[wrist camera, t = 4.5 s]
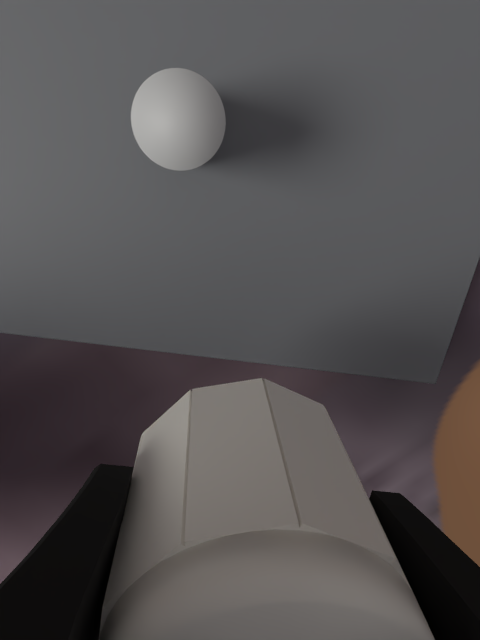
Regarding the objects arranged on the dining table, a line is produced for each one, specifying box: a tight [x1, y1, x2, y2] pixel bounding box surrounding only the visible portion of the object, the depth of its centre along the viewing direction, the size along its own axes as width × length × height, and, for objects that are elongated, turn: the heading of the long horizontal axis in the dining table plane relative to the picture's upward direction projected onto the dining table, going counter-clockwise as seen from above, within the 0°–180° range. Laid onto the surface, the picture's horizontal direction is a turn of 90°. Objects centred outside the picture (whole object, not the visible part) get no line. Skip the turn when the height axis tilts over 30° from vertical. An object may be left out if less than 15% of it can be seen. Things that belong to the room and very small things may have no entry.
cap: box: [99, 378, 435, 640], centre depth 8 cm, size 5×5×5 cm
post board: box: [0, 0, 480, 384], centre depth 12 cm, size 20×14×5 cm
